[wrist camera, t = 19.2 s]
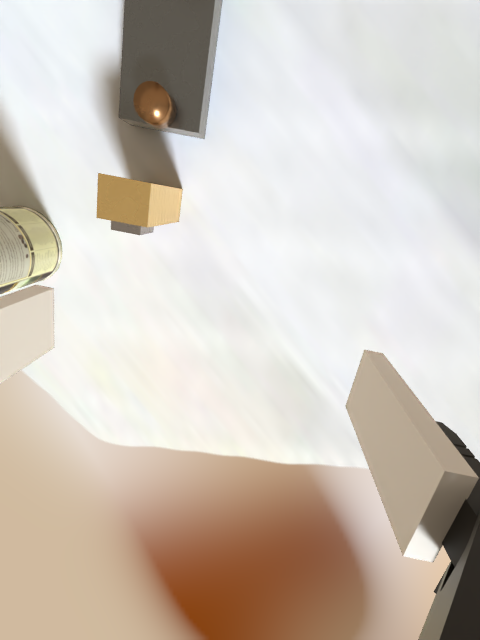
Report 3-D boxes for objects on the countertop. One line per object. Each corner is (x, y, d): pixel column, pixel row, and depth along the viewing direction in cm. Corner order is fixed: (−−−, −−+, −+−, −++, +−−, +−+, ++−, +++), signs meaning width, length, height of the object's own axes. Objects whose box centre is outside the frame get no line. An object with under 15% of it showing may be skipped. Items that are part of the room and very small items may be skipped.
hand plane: (232, -83, 33) (216, -222, 23) (204, 141, 40) (180, 118, 29) (144, -99, 34) (86, -244, 23) (131, 127, 40) (80, 99, 29)
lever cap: (182, 189, 42) (151, 183, 31) (177, 229, 44) (146, 238, 32) (143, 181, 42) (98, 173, 31) (140, 222, 44) (96, 228, 33)
